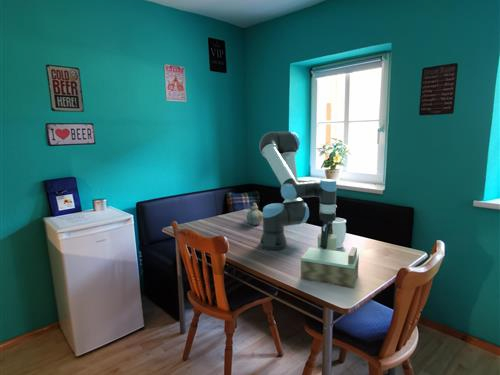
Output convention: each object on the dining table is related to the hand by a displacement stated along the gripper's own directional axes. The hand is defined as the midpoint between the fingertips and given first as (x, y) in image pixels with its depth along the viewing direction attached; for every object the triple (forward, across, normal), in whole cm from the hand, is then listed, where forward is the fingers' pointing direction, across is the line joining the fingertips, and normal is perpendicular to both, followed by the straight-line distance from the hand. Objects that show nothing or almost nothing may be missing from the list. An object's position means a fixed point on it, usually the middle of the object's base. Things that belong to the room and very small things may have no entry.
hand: (326, 256), depth 155 cm
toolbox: (+2, -16, -5) cm, 17 cm away
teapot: (+3, +45, +60) cm, 75 cm away
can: (+1, 0, 0) cm, 1 cm away
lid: (-6, -16, -5) cm, 18 cm away
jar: (+3, +23, 0) cm, 23 cm away
